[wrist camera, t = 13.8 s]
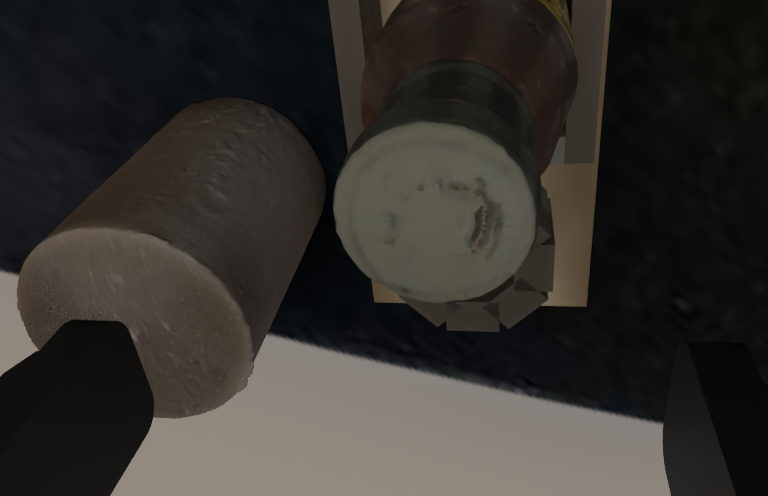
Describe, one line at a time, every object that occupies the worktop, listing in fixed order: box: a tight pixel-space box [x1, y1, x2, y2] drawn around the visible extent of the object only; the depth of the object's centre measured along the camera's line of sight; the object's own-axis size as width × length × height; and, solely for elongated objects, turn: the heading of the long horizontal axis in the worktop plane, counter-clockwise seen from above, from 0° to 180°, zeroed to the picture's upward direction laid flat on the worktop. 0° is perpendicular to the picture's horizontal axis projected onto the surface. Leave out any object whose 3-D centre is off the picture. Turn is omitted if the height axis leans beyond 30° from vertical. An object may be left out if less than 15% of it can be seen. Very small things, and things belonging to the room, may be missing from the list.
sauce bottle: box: [333, 0, 578, 303], centre depth 21 cm, size 6×6×20 cm
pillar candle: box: [17, 97, 326, 418], centre depth 31 cm, size 10×10×15 cm
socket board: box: [328, 0, 612, 332], centre depth 31 cm, size 12×23×6 cm, turn 5°
